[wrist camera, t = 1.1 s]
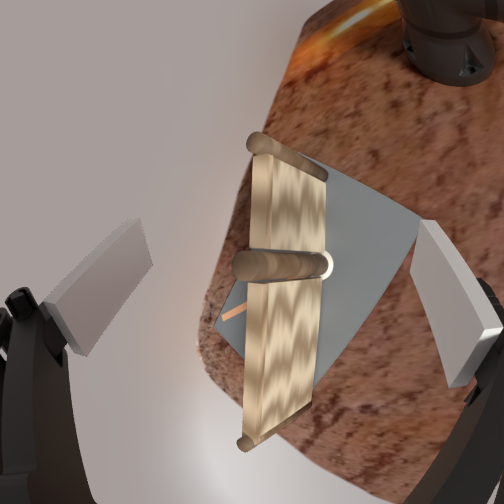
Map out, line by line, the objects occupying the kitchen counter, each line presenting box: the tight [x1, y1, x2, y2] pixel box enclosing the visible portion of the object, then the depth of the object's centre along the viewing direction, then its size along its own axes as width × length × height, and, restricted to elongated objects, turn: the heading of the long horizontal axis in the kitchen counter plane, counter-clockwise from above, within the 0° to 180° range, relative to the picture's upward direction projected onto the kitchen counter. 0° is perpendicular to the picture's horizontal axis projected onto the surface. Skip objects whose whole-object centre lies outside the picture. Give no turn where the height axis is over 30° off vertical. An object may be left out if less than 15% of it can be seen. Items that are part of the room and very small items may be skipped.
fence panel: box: [237, 277, 322, 452], centre depth 35 cm, size 21×2×15 cm, turn 177°
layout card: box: [214, 153, 425, 389], centre depth 43 cm, size 35×22×1 cm, turn 147°
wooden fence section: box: [232, 132, 329, 281], centre depth 35 cm, size 16×3×16 cm, turn 177°
